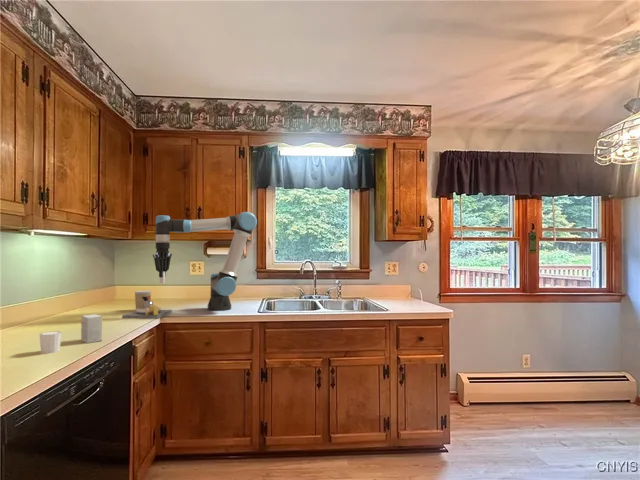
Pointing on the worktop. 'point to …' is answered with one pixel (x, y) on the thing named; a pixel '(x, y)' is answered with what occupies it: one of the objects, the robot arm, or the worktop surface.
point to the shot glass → (50, 342)
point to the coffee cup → (142, 298)
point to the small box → (91, 328)
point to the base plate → (134, 315)
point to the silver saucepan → (152, 308)
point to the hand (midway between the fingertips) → (162, 282)
